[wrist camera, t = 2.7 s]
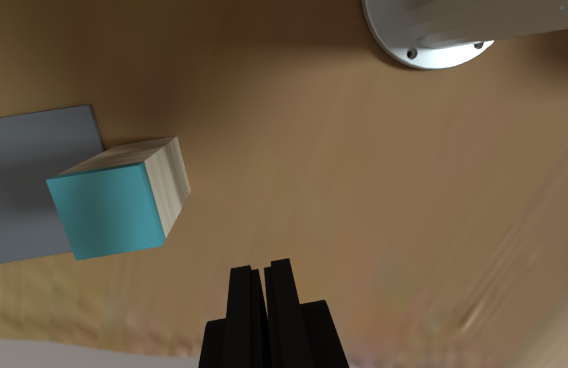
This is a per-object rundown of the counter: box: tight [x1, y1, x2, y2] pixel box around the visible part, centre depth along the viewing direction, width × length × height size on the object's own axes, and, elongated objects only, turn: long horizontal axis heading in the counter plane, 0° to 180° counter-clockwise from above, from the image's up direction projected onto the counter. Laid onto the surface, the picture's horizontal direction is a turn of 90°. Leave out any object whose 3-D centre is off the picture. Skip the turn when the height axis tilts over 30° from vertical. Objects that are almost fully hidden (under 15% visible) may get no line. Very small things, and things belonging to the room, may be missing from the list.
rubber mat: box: [0, 105, 105, 263], centre depth 28 cm, size 14×12×1 cm
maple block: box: [46, 136, 190, 261], centre depth 24 cm, size 5×5×10 cm
